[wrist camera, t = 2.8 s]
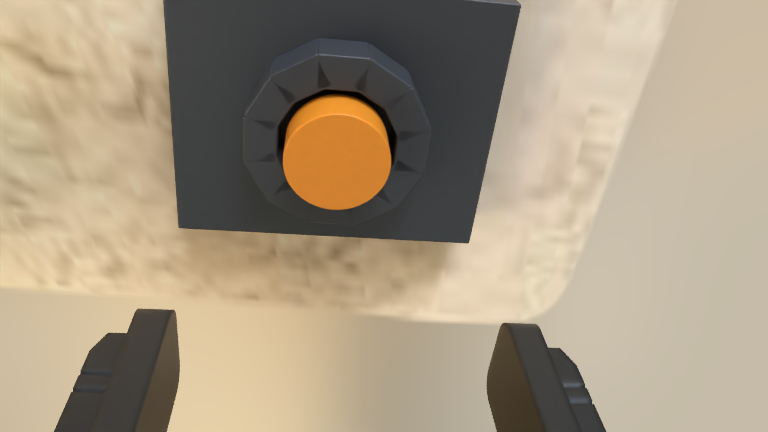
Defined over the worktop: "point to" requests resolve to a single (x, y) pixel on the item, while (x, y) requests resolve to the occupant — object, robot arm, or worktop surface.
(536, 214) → the worktop surface
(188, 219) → the switchbox
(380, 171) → the button
